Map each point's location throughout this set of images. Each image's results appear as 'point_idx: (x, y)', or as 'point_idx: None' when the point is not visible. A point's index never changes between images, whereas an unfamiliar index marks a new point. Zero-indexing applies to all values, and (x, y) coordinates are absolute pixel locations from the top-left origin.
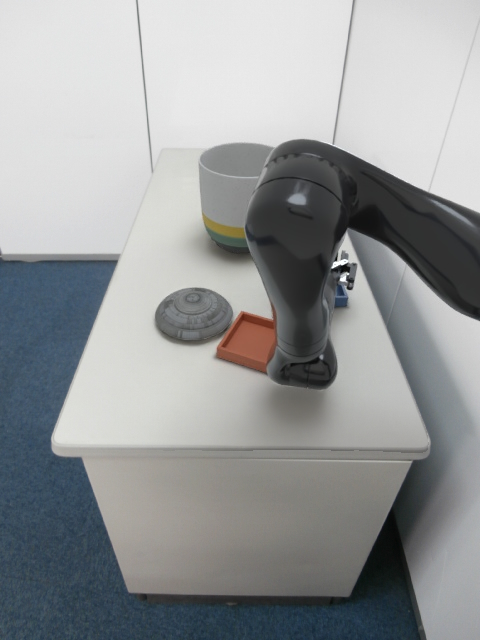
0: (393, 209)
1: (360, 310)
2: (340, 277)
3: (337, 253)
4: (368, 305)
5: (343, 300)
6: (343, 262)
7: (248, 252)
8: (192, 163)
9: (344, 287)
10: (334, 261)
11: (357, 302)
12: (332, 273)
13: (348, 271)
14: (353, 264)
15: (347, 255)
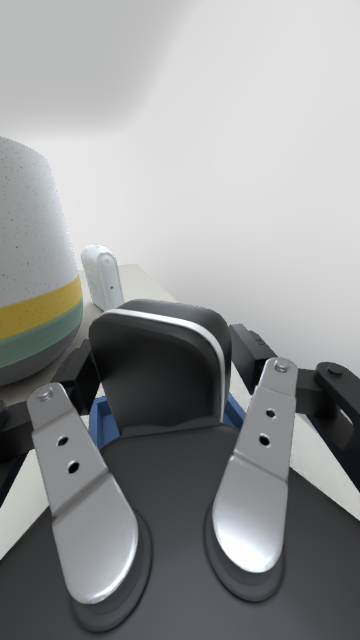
0: None
1: (349, 512)
2: (229, 395)
3: (230, 339)
4: None
5: None
6: (282, 376)
7: (1, 383)
8: None
9: None
10: (227, 374)
11: (308, 465)
12: (313, 535)
13: (311, 409)
14: (334, 374)
15: (257, 337)
